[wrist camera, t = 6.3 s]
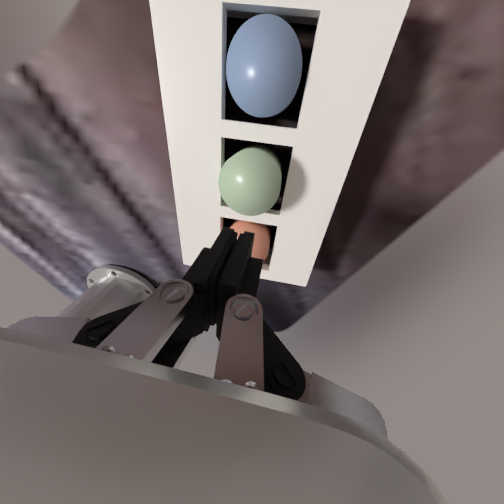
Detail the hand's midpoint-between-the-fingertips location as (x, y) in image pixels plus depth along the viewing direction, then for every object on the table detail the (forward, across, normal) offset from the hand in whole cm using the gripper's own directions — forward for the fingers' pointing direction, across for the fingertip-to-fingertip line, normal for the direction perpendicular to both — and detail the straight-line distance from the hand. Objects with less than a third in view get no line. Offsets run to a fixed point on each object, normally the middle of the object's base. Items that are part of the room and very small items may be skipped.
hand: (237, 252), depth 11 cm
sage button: (+10, +1, -2) cm, 10 cm away
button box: (+12, +1, -2) cm, 12 cm away
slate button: (+11, +1, -8) cm, 14 cm away
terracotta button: (+11, +1, +5) cm, 12 cm away
